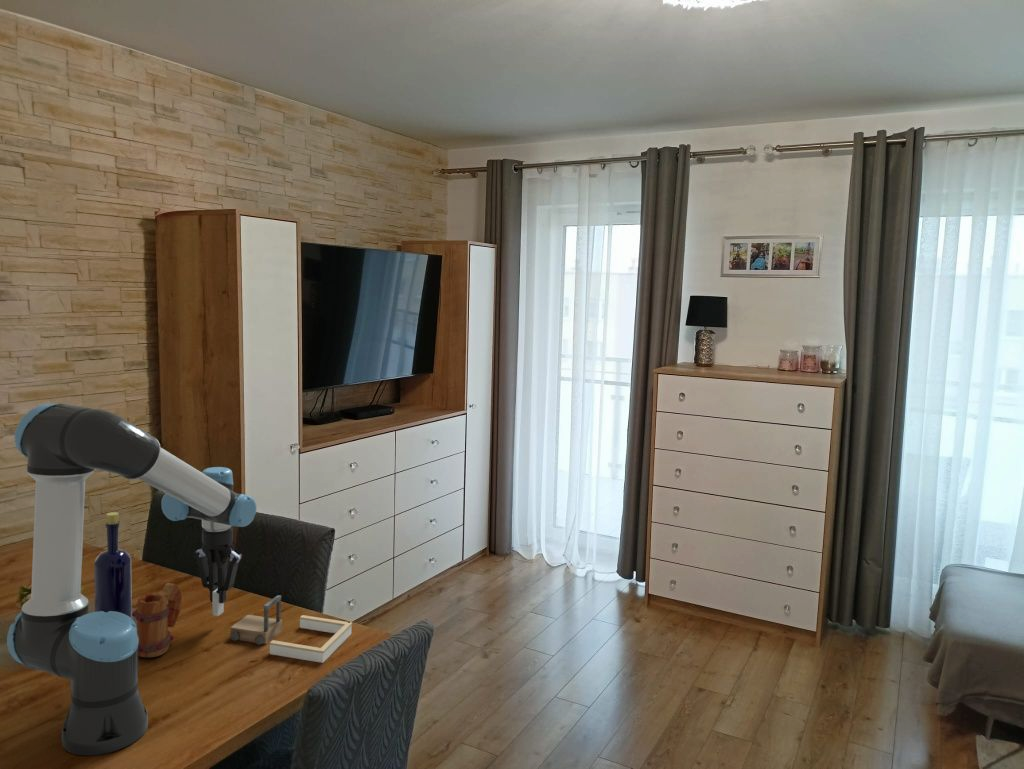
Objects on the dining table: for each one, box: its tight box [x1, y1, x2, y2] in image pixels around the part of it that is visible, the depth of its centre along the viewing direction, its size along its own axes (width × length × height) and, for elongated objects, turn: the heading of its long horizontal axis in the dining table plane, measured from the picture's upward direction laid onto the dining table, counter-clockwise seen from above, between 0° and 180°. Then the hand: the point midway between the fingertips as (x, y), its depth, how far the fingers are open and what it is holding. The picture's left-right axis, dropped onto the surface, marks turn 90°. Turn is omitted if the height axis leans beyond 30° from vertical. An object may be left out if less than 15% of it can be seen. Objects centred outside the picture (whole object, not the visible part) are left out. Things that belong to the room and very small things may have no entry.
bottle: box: [93, 511, 133, 619], centre depth 193 cm, size 9×9×30 cm
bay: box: [269, 614, 353, 664], centre depth 190 cm, size 17×14×3 cm
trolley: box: [230, 595, 283, 646], centre depth 193 cm, size 10×10×10 cm
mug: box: [132, 582, 182, 658], centre depth 183 cm, size 15×8×15 cm, turn 168°
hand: (218, 613), depth 196 cm, fingers closed
